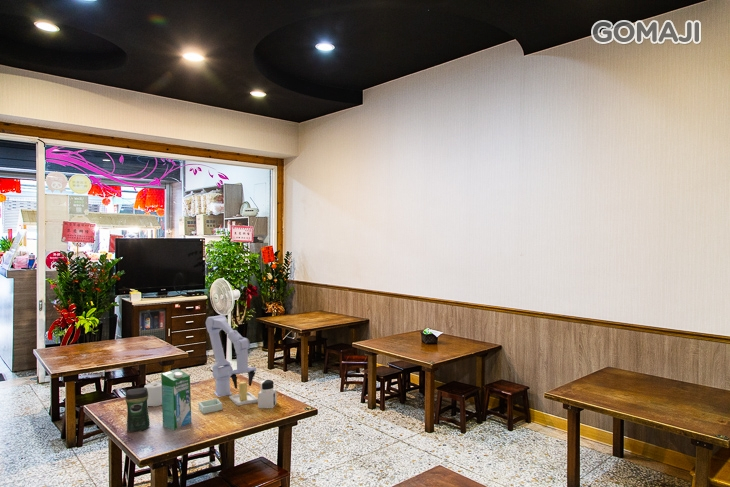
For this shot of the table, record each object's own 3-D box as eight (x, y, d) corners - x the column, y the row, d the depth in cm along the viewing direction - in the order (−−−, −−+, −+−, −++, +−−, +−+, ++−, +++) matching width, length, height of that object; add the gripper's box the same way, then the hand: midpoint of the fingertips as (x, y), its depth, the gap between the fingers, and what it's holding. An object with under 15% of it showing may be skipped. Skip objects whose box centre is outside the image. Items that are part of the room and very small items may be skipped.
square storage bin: (198, 408, 242) (198, 402, 242) (217, 405, 247) (217, 398, 247) (203, 414, 234) (202, 407, 234) (222, 410, 239) (222, 403, 239)
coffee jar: (150, 424, 223) (149, 385, 223) (148, 430, 216) (147, 390, 216) (127, 427, 220) (126, 387, 220) (125, 433, 213) (123, 392, 213)
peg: (238, 399, 253) (238, 382, 253) (246, 398, 255) (245, 381, 255) (240, 401, 250) (240, 384, 250) (248, 400, 252) (247, 383, 252)
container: (277, 403, 247) (276, 378, 247) (272, 408, 240) (272, 383, 240) (262, 403, 248) (262, 378, 248) (257, 408, 240) (257, 383, 240)
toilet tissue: (147, 408, 244) (147, 389, 244) (141, 402, 254) (141, 384, 254) (169, 403, 251) (168, 384, 251) (162, 397, 261) (162, 379, 260)
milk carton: (174, 430, 215) (173, 375, 215) (162, 426, 220) (161, 373, 220) (191, 423, 223) (190, 370, 223) (179, 419, 228) (177, 368, 227)
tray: (229, 399, 255) (229, 395, 255) (249, 395, 261) (249, 392, 261) (237, 406, 244) (237, 403, 244) (257, 402, 249) (257, 399, 249)
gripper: (230, 365, 245) (231, 391, 245) (257, 360, 253) (258, 386, 253) (227, 362, 251) (227, 387, 251) (253, 358, 259) (254, 382, 259)
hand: (242, 386), depth 252 cm, fingers open, 7 cm apart
